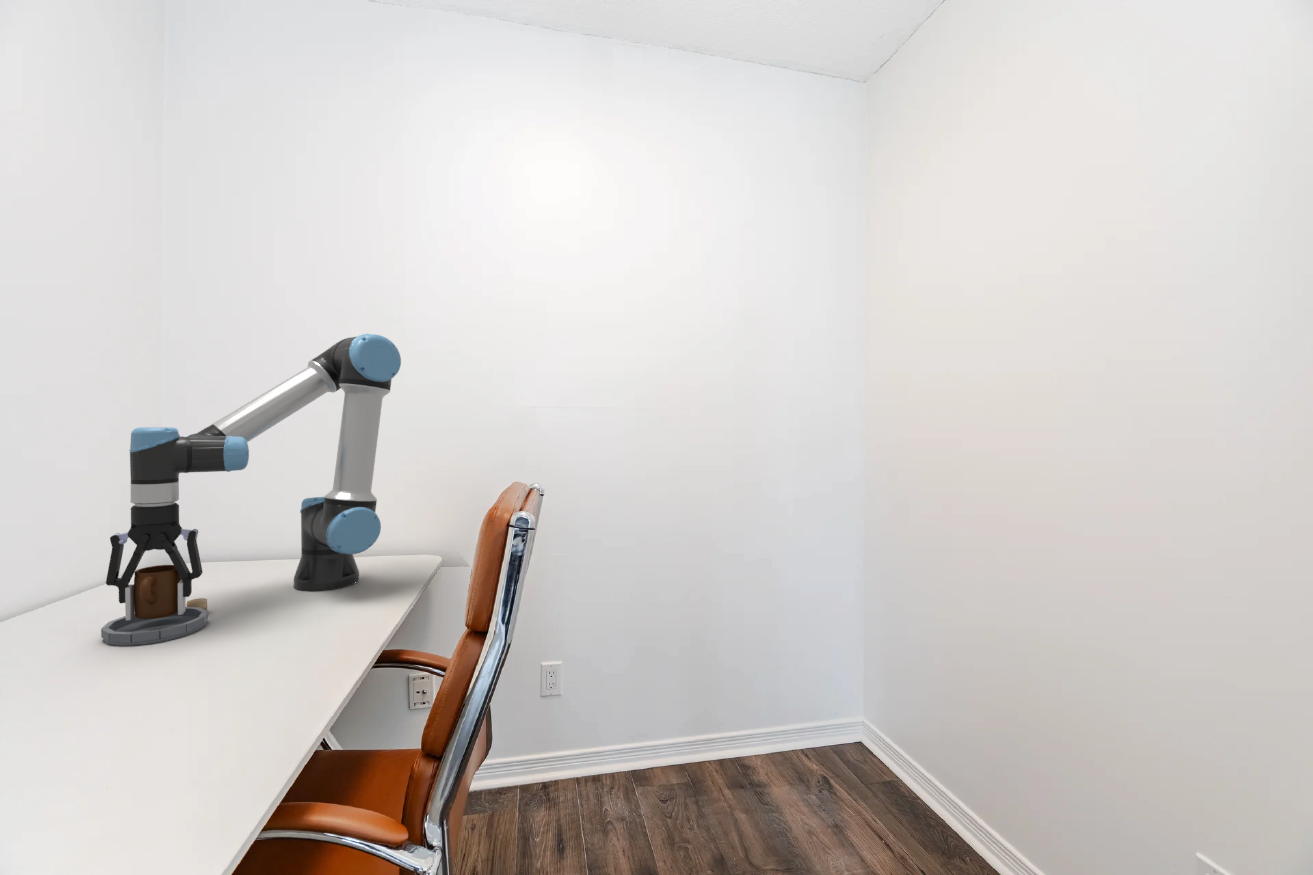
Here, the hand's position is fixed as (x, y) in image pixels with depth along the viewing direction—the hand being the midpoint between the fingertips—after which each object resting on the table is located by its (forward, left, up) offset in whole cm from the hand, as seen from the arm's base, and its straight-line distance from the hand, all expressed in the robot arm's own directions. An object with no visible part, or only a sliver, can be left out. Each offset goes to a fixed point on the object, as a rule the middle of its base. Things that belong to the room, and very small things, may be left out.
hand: (156, 615), depth 123 cm
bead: (-5, -10, -3) cm, 11 cm away
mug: (0, 0, 0) cm, 1 cm away
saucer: (0, 0, -3) cm, 3 cm away
